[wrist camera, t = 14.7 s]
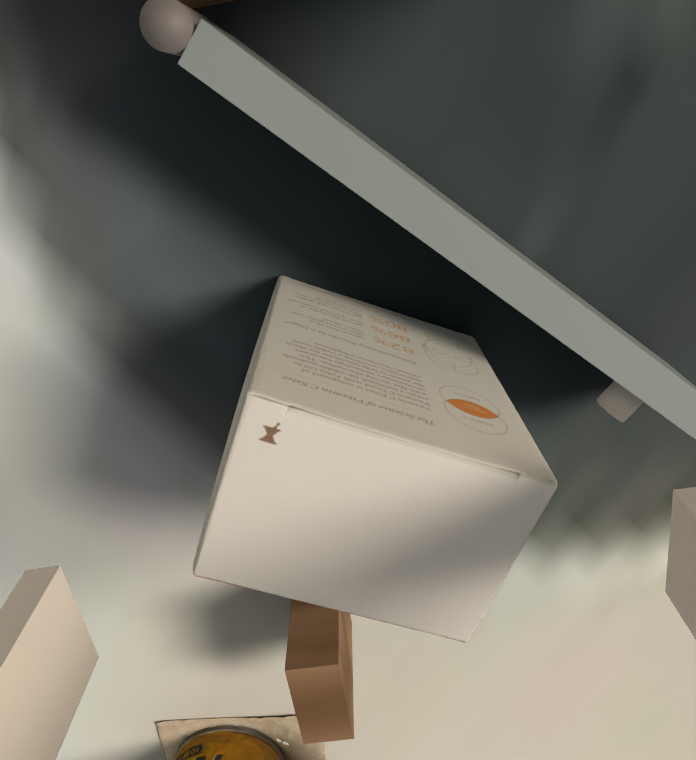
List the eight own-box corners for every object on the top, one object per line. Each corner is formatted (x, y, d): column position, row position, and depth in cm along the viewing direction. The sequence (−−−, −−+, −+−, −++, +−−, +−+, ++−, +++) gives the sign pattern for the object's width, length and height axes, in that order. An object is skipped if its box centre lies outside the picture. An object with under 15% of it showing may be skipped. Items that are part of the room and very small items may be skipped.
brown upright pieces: (145, -103, 19) (67, -182, 14) (211, -115, 19) (159, -199, 14) (310, 628, 31) (303, 744, 25) (351, 623, 31) (353, 738, 25)
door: (164, 80, 21) (107, 76, 16) (201, 11, 20) (154, -17, 15) (619, 405, 26) (687, 481, 21) (662, 359, 25) (744, 427, 20)
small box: (240, 398, 26) (180, 578, 16) (279, 268, 24) (237, 388, 14) (424, 454, 27) (471, 653, 17) (478, 335, 25) (565, 486, 15)
